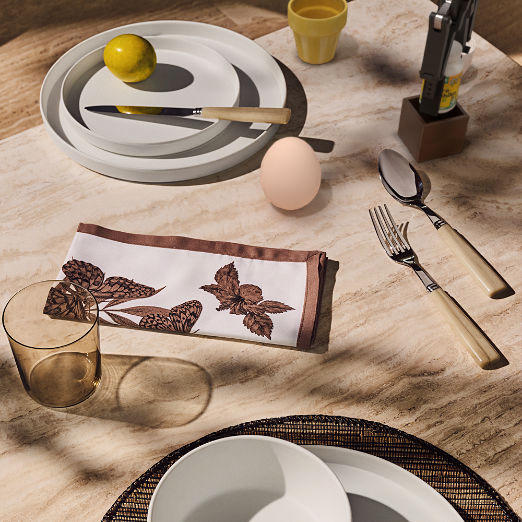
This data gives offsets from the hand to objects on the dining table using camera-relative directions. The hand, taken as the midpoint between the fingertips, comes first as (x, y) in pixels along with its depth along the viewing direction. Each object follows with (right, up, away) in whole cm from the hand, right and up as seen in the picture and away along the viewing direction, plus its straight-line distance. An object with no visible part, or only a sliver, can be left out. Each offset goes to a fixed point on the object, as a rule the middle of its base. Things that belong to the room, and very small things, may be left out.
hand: (436, 101), depth 102 cm
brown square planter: (0, -5, +6) cm, 8 cm away
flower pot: (-16, +14, +23) cm, 32 cm away
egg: (-22, -15, -2) cm, 27 cm away
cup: (+5, +8, +17) cm, 19 cm away
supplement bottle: (0, 0, 0) cm, 1 cm away
